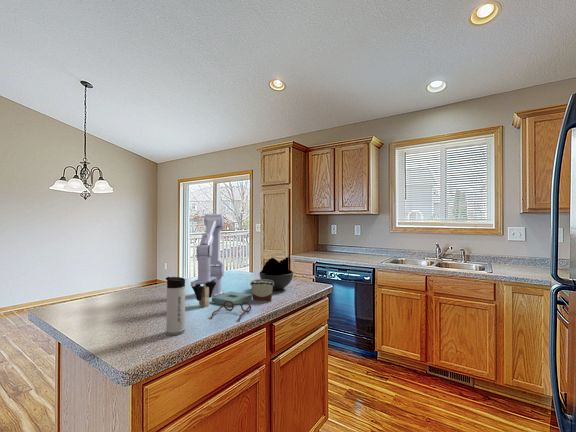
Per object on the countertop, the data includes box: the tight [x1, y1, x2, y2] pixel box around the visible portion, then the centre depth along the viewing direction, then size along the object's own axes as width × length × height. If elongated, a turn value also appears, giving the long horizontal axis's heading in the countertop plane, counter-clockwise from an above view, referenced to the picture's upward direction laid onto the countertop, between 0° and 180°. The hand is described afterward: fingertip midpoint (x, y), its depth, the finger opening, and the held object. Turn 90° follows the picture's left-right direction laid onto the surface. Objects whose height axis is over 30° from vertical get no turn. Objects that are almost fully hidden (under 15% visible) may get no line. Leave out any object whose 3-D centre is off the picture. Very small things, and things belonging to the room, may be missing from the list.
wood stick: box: [198, 285, 210, 308], centre depth 136 cm, size 4×2×9 cm, turn 60°
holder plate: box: [211, 291, 253, 308], centre depth 144 cm, size 14×14×2 cm
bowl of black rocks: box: [259, 256, 294, 291], centre depth 169 cm, size 20×20×19 cm
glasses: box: [210, 301, 252, 323], centre depth 122 cm, size 13×13×5 cm
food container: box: [249, 278, 274, 303], centre depth 147 cm, size 12×6×10 cm, turn 84°
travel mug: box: [165, 276, 186, 337], centre depth 104 cm, size 6×7×20 cm
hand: (204, 298), depth 136 cm, fingers open, 6 cm apart
